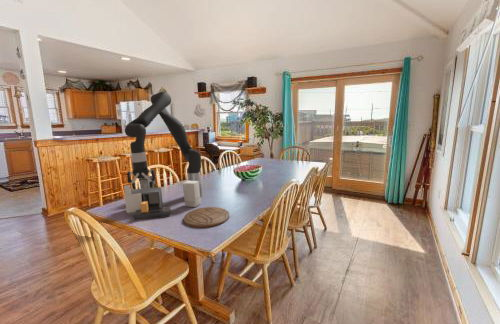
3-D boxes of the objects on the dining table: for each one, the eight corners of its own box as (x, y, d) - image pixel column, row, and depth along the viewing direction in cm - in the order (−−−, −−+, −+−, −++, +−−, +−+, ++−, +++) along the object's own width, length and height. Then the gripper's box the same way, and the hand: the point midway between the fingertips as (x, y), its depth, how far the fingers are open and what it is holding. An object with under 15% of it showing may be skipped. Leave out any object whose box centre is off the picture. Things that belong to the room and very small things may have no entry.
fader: (148, 209, 146) (147, 201, 145) (147, 212, 141) (146, 203, 140) (143, 209, 145) (142, 201, 144) (141, 212, 141) (140, 204, 140)
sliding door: (143, 210, 150) (140, 184, 147) (142, 211, 149) (139, 185, 145) (127, 212, 148) (123, 185, 145) (126, 213, 147) (122, 186, 144)
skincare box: (201, 204, 162) (199, 180, 159) (195, 207, 156) (193, 183, 153) (189, 202, 164) (188, 180, 161) (184, 206, 158) (182, 182, 155)
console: (170, 211, 150) (170, 206, 150) (169, 216, 143) (168, 211, 142) (136, 214, 146) (136, 210, 146) (133, 220, 139) (133, 215, 138)
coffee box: (149, 197, 178) (147, 175, 175) (157, 197, 177) (155, 175, 174) (141, 201, 169) (139, 178, 166) (150, 202, 168) (147, 179, 165)
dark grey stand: (162, 204, 162) (161, 187, 160) (160, 211, 150) (158, 192, 148) (133, 207, 158) (130, 189, 156) (128, 215, 147) (125, 195, 144)
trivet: (211, 207, 157) (210, 204, 157) (238, 217, 140) (238, 214, 140) (175, 219, 139) (175, 216, 139) (201, 233, 122) (201, 229, 122)
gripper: (153, 158, 142) (157, 185, 146) (127, 160, 139) (130, 188, 143) (151, 160, 135) (155, 189, 138) (123, 162, 132) (127, 191, 135)
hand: (142, 188), depth 141 cm, fingers open, 8 cm apart
